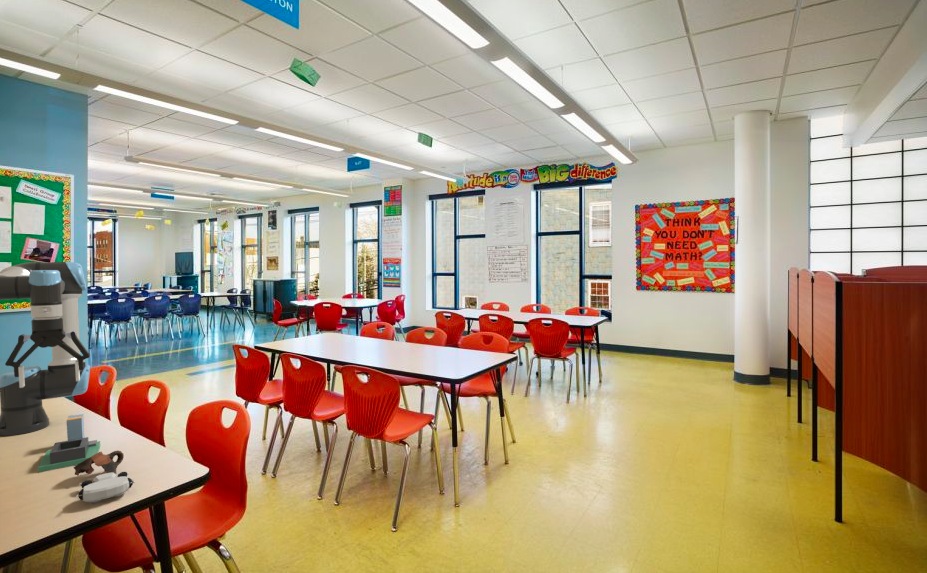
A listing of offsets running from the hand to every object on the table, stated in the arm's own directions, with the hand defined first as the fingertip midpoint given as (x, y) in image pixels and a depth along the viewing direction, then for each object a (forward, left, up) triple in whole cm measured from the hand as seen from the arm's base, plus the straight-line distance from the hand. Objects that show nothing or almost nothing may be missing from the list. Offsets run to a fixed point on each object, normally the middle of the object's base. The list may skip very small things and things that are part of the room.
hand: (50, 383), depth 150 cm
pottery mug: (+24, +13, -25) cm, 37 cm away
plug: (-12, +4, -25) cm, 28 cm away
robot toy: (+39, +15, -25) cm, 49 cm away
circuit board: (+2, +4, -25) cm, 25 cm away
